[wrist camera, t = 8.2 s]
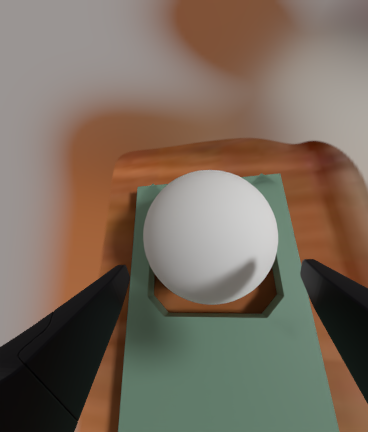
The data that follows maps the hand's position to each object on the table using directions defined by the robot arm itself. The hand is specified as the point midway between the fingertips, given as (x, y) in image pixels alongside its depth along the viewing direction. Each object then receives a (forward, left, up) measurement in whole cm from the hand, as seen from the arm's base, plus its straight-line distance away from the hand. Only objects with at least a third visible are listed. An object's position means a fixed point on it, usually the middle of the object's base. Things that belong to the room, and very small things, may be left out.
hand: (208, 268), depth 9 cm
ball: (+3, 0, -6) cm, 7 cm away
